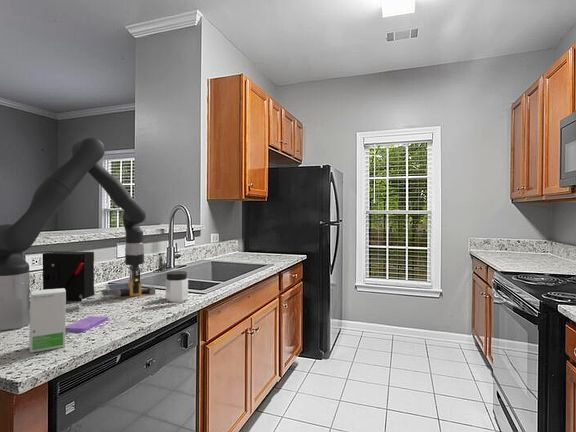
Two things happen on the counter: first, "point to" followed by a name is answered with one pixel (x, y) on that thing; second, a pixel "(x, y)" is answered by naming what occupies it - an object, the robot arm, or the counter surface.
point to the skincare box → (47, 319)
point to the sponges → (85, 324)
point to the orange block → (130, 287)
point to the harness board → (126, 294)
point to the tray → (116, 287)
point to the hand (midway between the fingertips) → (134, 291)
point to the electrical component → (69, 273)
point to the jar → (177, 287)
